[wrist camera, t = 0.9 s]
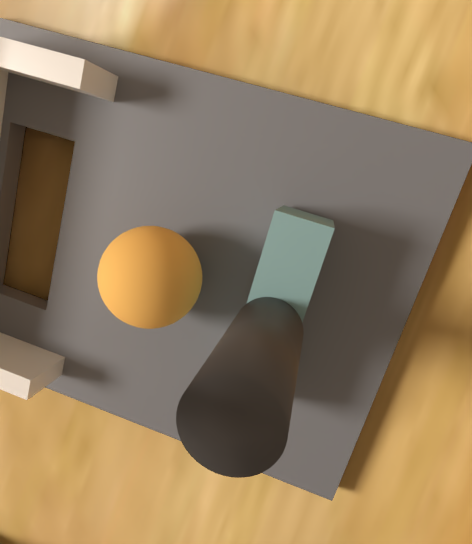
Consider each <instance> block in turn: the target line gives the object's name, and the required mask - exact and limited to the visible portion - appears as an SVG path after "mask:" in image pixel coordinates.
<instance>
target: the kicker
mask: <svg viewBox="0 0 472 544" xmlns="http://www.w3.org/2000/svg"><path fill="white" fill-rule="evenodd" d="M334 229H335V227H334V221H333V220H331V219H327V218H324V217H321V216H318V215H314V214H311V213H308V212H304V211H301V210H298V209H294V208H291V207H288V206H284V205H283V206H282V207H280V208H278V209H276V210H275V211H274V214H273V218H272V221H271V224H270V227H269V231H268V234H267V237H266V241H265V244H264V247H263V251H262V254H261V257H260V260H259V264H258V267H257V270H256V274H255V277H254V280H253V284H252V287H251V290H250V293H249V297H248V300H247V303H246V304H245V305H244V306H243V307H242V308H241V310H240V311H239V313H238V314H237V316H236V317H235V318H234V320H233V321H232V323H231V324H230V326H229V327H228V329H227V330H226V332H225V333H224V335H223V336H222V338H221V339H220V341H219V342H218V343H217V345H216V346H215V348H214V349H213V351H212V352H211V354H210V355H209V357H208V358H207V360H206V361H205V363H204V364H203V366H202V367H201V368H200V370H199V371H198V373H197V374H196V376H195V377H194V379H193V380H192V382H191V383H190V385H189V386H188V388H187V389H186V391H185V392H184V393H183V395H182V397H181V399H180V401H179V404H178V407H177V412H176V426H177V430H178V434H179V437H180V439H181V441H182V443H183V445H184V447H185V448H186V450H187V451H188V453H189V454H190V455H191V456H192V457H193V458H194V459H195V460H196V461H197V462H198V463H200V464H201V465H202V466H204V467H205V468H207V469H209V470H211V471H213V472H215V473H218V474H221V475H224V476H229V477H250V476H254V475H257V474H260V473H262V472H264V471H266V470H268V469H269V468H270V467H272V466H273V465H274V464H275V463H276V462H277V461H278V460H279V458H280V457H281V455H282V454H283V452H284V449H285V447H286V444H287V439H288V432H289V426H290V419H291V413H292V406H293V400H294V393H295V387H296V380H297V374H298V367H299V361H300V354H301V348H302V341H303V334H304V329H303V324H302V322H303V319H304V316H305V313H306V310H307V308H308V305H309V302H310V299H311V296H312V293H313V290H314V287H315V284H316V281H317V279H318V276H319V273H320V270H321V267H322V264H323V261H324V258H325V255H326V252H327V249H328V247H329V244H330V241H331V238H332V235H333V232H334Z"/></svg>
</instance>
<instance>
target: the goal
mask: <svg viewBox="0 0 472 544" xmlns="http://www.w3.org/2000/svg"><path fill="white" fill-rule="evenodd" d="M8 72H10V73H13V74H17V75H20V76H24V77H27V78H31V79H35V80H38V81H42V82H45V83H49V84H52V85H56V86H59V87H63V88H66V89H70V90H73V91H77V92H80V93H84V94H87V95H91V96H94V97H98V98H101V99H105V100H109V101H112V102H114V97H115V92H116V87H117V82H118V76H116V75H114V74H112V73H110V72H108V71H106V70H104V69H103V68H101V67H99V66H97V65H95V64H93V63H91V62H89V61H87V60H85V59H81V58H78V57H74V56H70V55H66V54H63V53H59V52H55V51H52V50H48V49H44V48H41V47H37V46H33V45H30V44H26V43H22V42H19V41H15V40H11V39H7V38H4V37H0V135H1V128H2V120H3V112H4V104H5V96H6V88H7V80H8ZM64 360H65V357H63V356H61V355H58V354H56V353H53V352H50V351H48V350H45V349H42V348H40V347H37V346H35V345H32V344H29V343H27V342H24V341H21V340H19V339H16V338H14V337H11V336H8V335H6V334H3V333H0V389H1V390H3V391H6V392H8V393H11V394H13V395H16V396H18V397H21V398H23V399H26V400H28V399H29V398H31V397H32V396H33V395H35V394H36V393H38V392H39V391H40V390H42V389H43V388H44V387H46V386H47V385H49V384H50V383H51V382H53V381H54V380H56V379H57V378H58V377H60V376H61V375H62V371H63V365H64Z"/></svg>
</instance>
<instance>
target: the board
mask: <svg viewBox="0 0 472 544" xmlns="http://www.w3.org/2000/svg"><path fill="white" fill-rule="evenodd" d="M0 37H4V38H7V39H11V40H15V41H19V42H22V43H26V44H30V45H33V46H37V47H41V48H44V49H48V50H52V51H55V52H59V53H63V54H66V55H70V56H74V57H78V58H81V59H85V60H87V61H89V62H91V63H93V64H95V65H97V66H99V67H101V68H103V69H104V70H106V71H108V72H110V73H112V74H114V75H116V76H118V82H117V87H116V92H115V97H114V102H112V101H109V100H105V99H101V98H98V97H94V96H91V95H87V94H84V93H80V92H77V91H73V90H70V89H66V88H63V87H59V86H56V85H52V84H49V83H45V82H42V81H38V80H35V79H31V78H27V77H24V76H20V75H17V74H13V73H10V72H8V80H7V88H6V96H5V104H4V112H3V120H2V128H1V135H0V333H3V334H6V335H8V336H11V337H14V338H16V339H19V340H21V341H24V342H27V343H29V344H32V345H35V346H37V347H40V348H42V349H45V350H48V351H50V352H53V353H56V354H58V355H61V356H63V357H65V360H64V365H63V371H62V375H61V376H60V377H58V378H57V379H56V380H54V381H53V382H51V383H50V384H49V385H47V386H46V388H48V389H51V390H53V391H56V392H58V393H61V394H63V395H66V396H69V397H71V398H74V399H76V400H79V401H81V402H84V403H86V404H89V405H91V406H94V407H96V408H99V409H101V410H104V411H106V412H109V413H112V414H114V415H117V416H119V417H122V418H124V419H127V420H129V421H132V422H134V423H137V424H139V425H142V426H144V427H147V428H149V429H152V430H154V431H157V432H160V433H162V434H165V435H167V436H170V437H172V438H175V439H177V440H180V441H181V439H180V437H179V434H178V430H177V426H176V412H177V407H178V404H179V401H180V399H181V397H182V395H183V393H184V392H185V391H186V389H187V388H188V386H189V385H190V383H191V382H192V380H193V379H194V377H195V376H196V374H197V373H198V371H199V370H200V368H201V367H202V366H203V364H204V363H205V361H206V360H207V358H208V357H209V355H210V354H211V352H212V351H213V349H214V348H215V346H216V345H217V343H218V342H219V341H220V339H221V338H222V336H223V335H224V333H225V332H226V330H227V329H228V327H229V326H230V324H231V323H232V321H233V320H234V318H235V317H236V316H237V314H238V313H239V311H240V310H241V308H242V307H243V306H244V305H245V304H246V303H247V300H248V297H249V293H250V290H251V287H252V284H253V280H254V277H255V274H256V270H257V267H258V264H259V260H260V257H261V254H262V251H263V247H264V244H265V241H266V237H267V234H268V231H269V227H270V224H271V221H272V218H273V214H274V211H275V210H276V209H278V208H280V207H282V206H283V205H284V206H288V207H291V208H294V209H298V210H301V211H304V212H308V213H311V214H314V215H318V216H321V217H324V218H327V219H331V220H333V221H334V227H335V229H334V232H333V235H332V238H331V241H330V244H329V247H328V249H327V252H326V255H325V258H324V261H323V264H322V267H321V270H320V273H319V276H318V279H317V281H316V284H315V287H314V290H313V293H312V296H311V299H310V302H309V305H308V308H307V310H306V313H305V316H304V319H303V322H302V324H303V329H304V334H303V341H302V348H301V354H300V361H299V367H298V374H297V380H296V387H295V393H294V400H293V406H292V413H291V419H290V426H289V432H288V439H287V444H286V447H285V449H284V452H283V454H282V455H281V457H280V458H279V460H278V461H277V462H276V463H275V464H274V465H273V466H272V467H270V468H269V469H268V470H266V471H264V472H262V473H263V474H266V475H268V476H271V477H273V478H276V479H278V480H281V481H283V482H286V483H288V484H291V485H294V486H296V487H299V488H301V489H304V490H306V491H309V492H311V493H314V494H316V495H319V496H321V497H324V498H326V499H329V500H331V501H332V500H333V498H334V495H335V493H336V490H337V488H338V486H339V483H340V481H341V478H342V476H343V473H344V471H345V469H346V466H347V464H348V461H349V459H350V457H351V454H352V452H353V449H354V447H355V444H356V442H357V440H358V437H359V435H360V432H361V430H362V428H363V425H364V423H365V420H366V418H367V415H368V413H369V411H370V408H371V406H372V403H373V401H374V399H375V396H376V394H377V391H378V389H379V386H380V384H381V382H382V379H383V377H384V374H385V372H386V370H387V367H388V365H389V362H390V360H391V357H392V355H393V353H394V350H395V348H396V345H397V343H398V341H399V338H400V336H401V333H402V331H403V328H404V326H405V324H406V321H407V319H408V316H409V314H410V312H411V309H412V307H413V304H414V302H415V300H416V297H417V295H418V292H419V290H420V287H421V285H422V283H423V280H424V278H425V275H426V273H427V271H428V268H429V266H430V263H431V261H432V258H433V256H434V254H435V251H436V249H437V246H438V244H439V242H440V239H441V237H442V234H443V232H444V229H445V227H446V225H447V222H448V220H449V217H450V215H451V213H452V210H453V208H454V205H455V203H456V200H457V198H458V196H459V193H460V191H461V188H462V186H463V184H464V181H465V179H466V176H467V174H468V171H469V169H470V167H471V164H472V142H468V141H464V140H460V139H456V138H453V137H449V136H445V135H441V134H438V133H434V132H430V131H426V130H422V129H419V128H415V127H411V126H407V125H403V124H400V123H396V122H392V121H388V120H385V119H381V118H377V117H373V116H369V115H366V114H362V113H358V112H354V111H351V110H347V109H343V108H339V107H335V106H332V105H328V104H324V103H320V102H316V101H313V100H309V99H305V98H301V97H298V96H294V95H290V94H286V93H282V92H279V91H275V90H271V89H267V88H263V87H260V86H256V85H252V84H248V83H245V82H241V81H237V80H233V79H229V78H226V77H222V76H218V75H214V74H211V73H207V72H203V71H199V70H195V69H192V68H188V67H184V66H180V65H176V64H173V63H169V62H165V61H161V60H158V59H154V58H150V57H146V56H142V55H139V54H135V53H131V52H127V51H124V50H120V49H116V48H112V47H108V46H105V45H101V44H97V43H93V42H89V41H86V40H82V39H78V38H74V37H71V36H67V35H63V34H59V33H55V32H52V31H48V30H44V29H40V28H36V27H33V26H29V25H25V24H21V23H18V22H14V21H10V20H6V19H2V18H0ZM26 127H28V128H32V129H35V130H38V131H41V132H45V133H48V134H51V135H55V136H58V137H61V138H65V139H68V140H71V141H75V145H74V151H73V157H72V162H71V168H70V174H69V180H68V186H67V192H66V197H65V203H64V209H63V215H62V221H61V227H60V232H59V238H58V244H57V250H56V256H55V261H54V267H53V273H52V279H51V285H50V291H49V296H48V301H47V300H45V299H42V298H39V297H36V296H34V295H31V294H28V293H25V292H23V291H20V290H17V289H14V288H12V287H9V286H6V285H3V284H4V277H5V270H6V262H7V255H8V248H9V241H10V234H11V227H12V220H13V213H14V206H15V199H16V192H17V184H18V177H19V170H20V163H21V156H22V149H23V142H24V135H25V128H26ZM141 226H159V227H163V228H167V229H170V230H172V231H174V232H176V233H178V234H179V235H181V236H182V237H183V238H184V239H186V240H187V241H188V242H189V243H190V245H191V246H192V247H193V249H194V250H195V252H196V254H197V256H198V258H199V261H200V264H201V268H202V286H201V291H200V294H199V296H198V299H197V301H196V303H195V304H194V306H193V307H192V308H191V310H190V311H189V312H188V313H187V314H186V315H185V316H184V317H182V318H181V319H180V320H178V321H176V322H175V323H173V324H170V325H168V326H165V327H161V328H155V329H144V328H138V327H135V326H131V325H129V324H127V323H125V322H123V321H121V320H120V319H118V318H117V317H116V316H115V315H113V314H112V313H111V311H110V310H109V309H108V308H107V306H106V305H105V303H104V302H103V300H102V298H101V295H100V292H99V288H98V282H97V273H98V266H99V263H100V260H101V257H102V255H103V253H104V251H105V250H106V248H107V247H108V246H109V244H110V243H111V242H112V241H113V240H114V239H115V238H117V237H118V236H119V235H121V234H122V233H124V232H126V231H128V230H130V229H133V228H136V227H141Z"/></svg>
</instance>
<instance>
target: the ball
mask: <svg viewBox="0 0 472 544" xmlns="http://www.w3.org/2000/svg"><path fill="white" fill-rule="evenodd" d="M97 282H98V288H99V292H100V295H101V298H102V300H103V302H104V303H105V305H106V306H107V308H108V309H109V310H110V311H111V313H112V314H113V315H115V316H116V317H117V318H118V319H120V320H121V321H123V322H125V323H127V324H129V325H131V326H135V327H138V328H144V329H155V328H161V327H165V326H168V325H170V324H173V323H175V322H176V321H178V320H180V319H181V318H182V317H184V316H185V315H186V314H187V313H188V312H189V311H190V310H191V308H192V307H193V306H194V304H195V303H196V301H197V299H198V296H199V294H200V291H201V286H202V268H201V264H200V261H199V258H198V256H197V254H196V252H195V250H194V249H193V247H192V246H191V245H190V243H189V242H188V241H187V240H186V239H184V238H183V237H182V236H181V235H179V234H178V233H176V232H174V231H172V230H170V229H167V228H163V227H159V226H141V227H136V228H133V229H130V230H128V231H126V232H124V233H122V234H121V235H119V236H118V237H117V238H115V239H114V240H113V241H112V242H111V243H110V244H109V246H108V247H107V248H106V250H105V251H104V253H103V255H102V257H101V260H100V263H99V266H98V273H97Z"/></svg>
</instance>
